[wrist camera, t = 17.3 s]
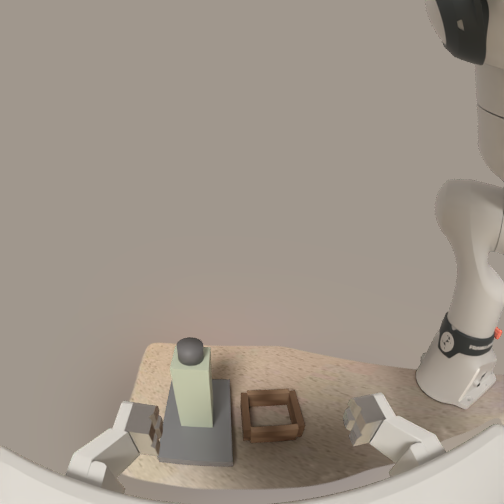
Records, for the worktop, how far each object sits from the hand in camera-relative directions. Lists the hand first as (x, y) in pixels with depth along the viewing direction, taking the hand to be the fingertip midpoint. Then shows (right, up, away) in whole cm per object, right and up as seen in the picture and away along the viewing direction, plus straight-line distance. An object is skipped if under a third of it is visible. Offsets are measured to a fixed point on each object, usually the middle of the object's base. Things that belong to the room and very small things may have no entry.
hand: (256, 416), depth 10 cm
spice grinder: (-8, -18, +25) cm, 32 cm away
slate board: (-8, -19, +26) cm, 33 cm away
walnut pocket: (+3, -19, +27) cm, 33 cm away
